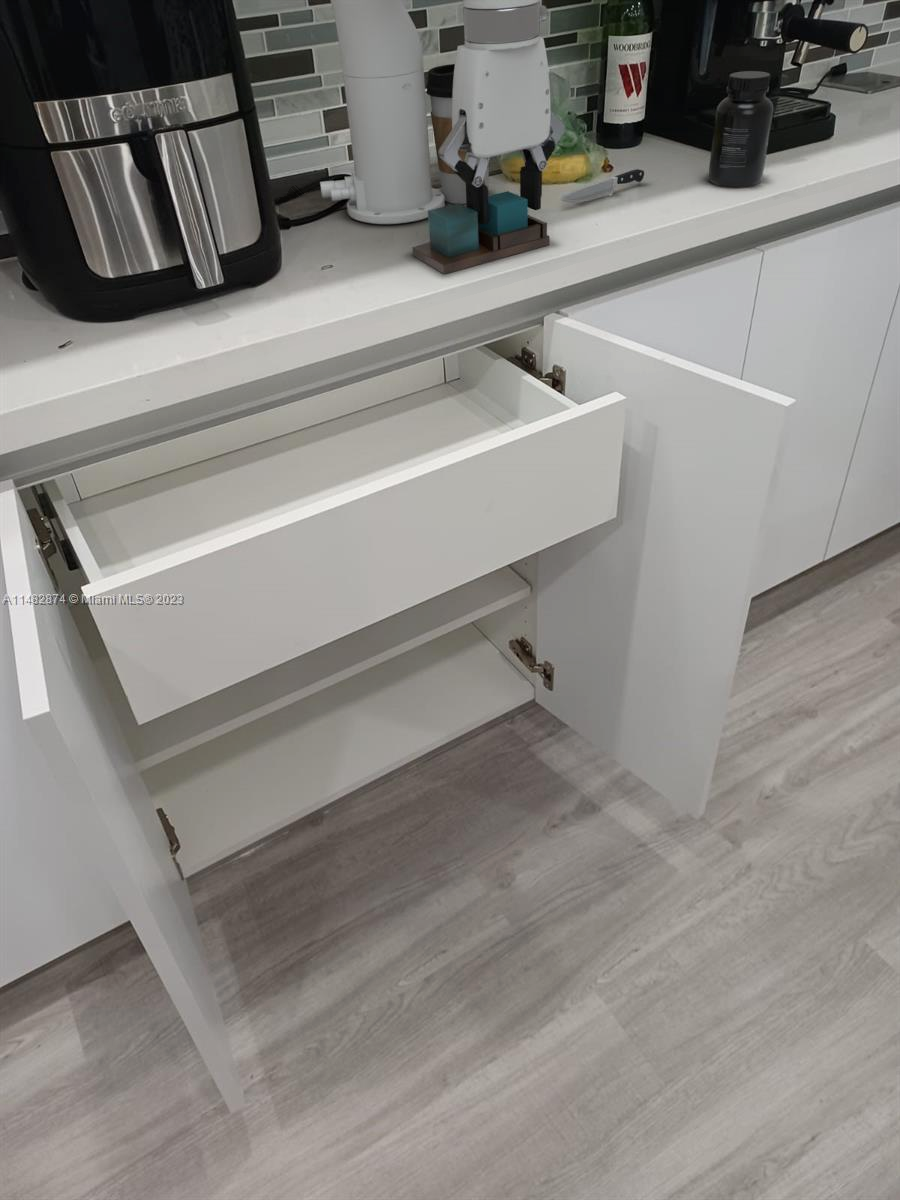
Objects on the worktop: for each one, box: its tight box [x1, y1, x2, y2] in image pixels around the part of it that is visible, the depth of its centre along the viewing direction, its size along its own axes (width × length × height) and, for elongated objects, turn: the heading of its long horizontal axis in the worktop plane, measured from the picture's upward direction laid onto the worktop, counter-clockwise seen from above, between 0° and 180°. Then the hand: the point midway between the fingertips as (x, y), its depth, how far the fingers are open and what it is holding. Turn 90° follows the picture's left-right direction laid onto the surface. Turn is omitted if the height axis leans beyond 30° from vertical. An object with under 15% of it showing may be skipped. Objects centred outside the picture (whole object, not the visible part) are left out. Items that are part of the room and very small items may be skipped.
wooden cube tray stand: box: [411, 203, 551, 275], centre depth 98 cm, size 14×7×5 cm, turn 120°
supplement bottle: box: [707, 70, 774, 188], centre depth 109 cm, size 7×7×12 cm
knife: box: [559, 168, 645, 203], centre depth 110 cm, size 15×1×2 cm, turn 128°
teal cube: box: [479, 190, 529, 236], centre depth 98 cm, size 4×4×4 cm
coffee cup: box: [425, 63, 491, 205], centre depth 109 cm, size 8×8×15 cm
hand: (504, 212), depth 98 cm, fingers open, 6 cm apart
